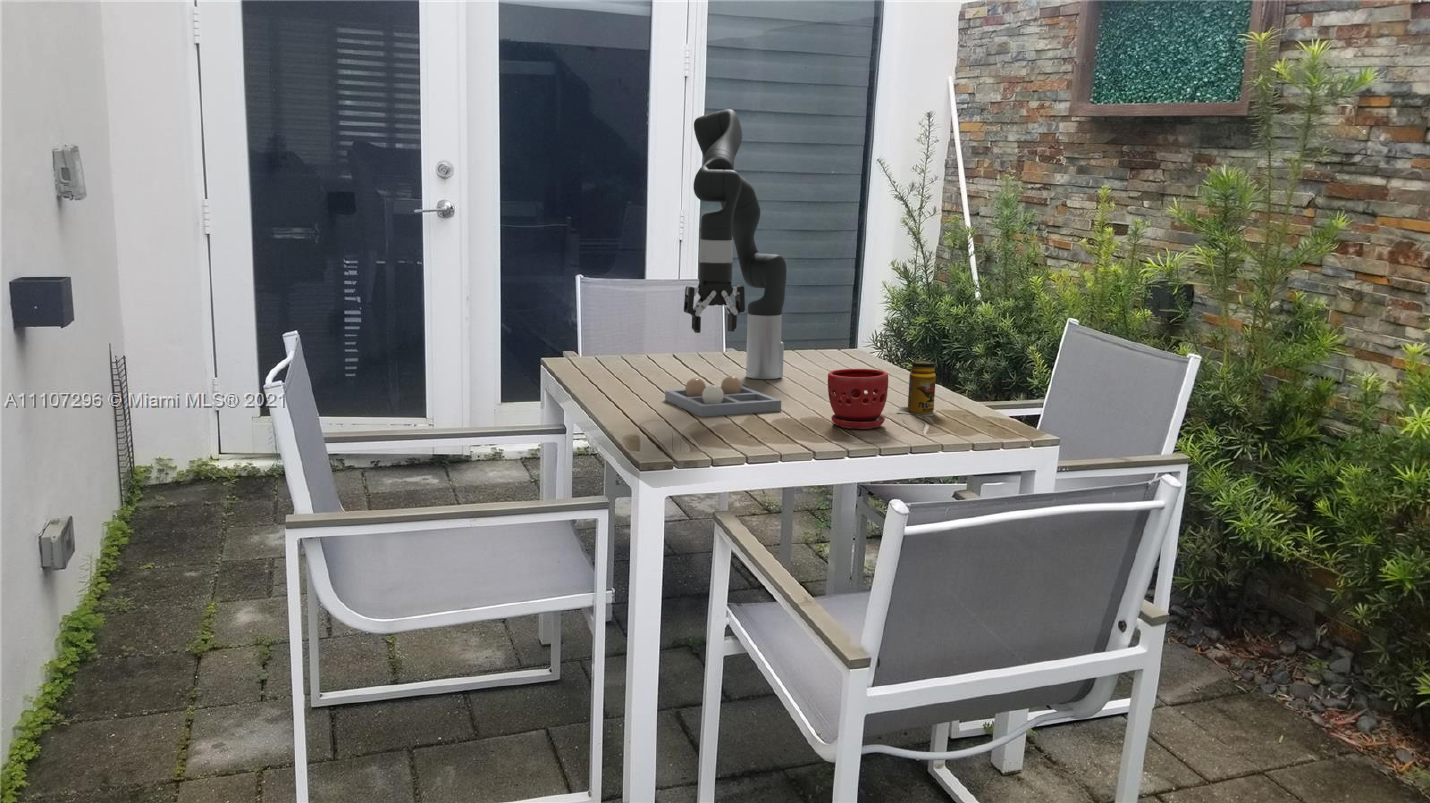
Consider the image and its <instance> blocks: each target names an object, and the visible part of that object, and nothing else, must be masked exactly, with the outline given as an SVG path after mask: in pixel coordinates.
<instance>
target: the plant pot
mask: <svg viewBox="0 0 1430 803" xmlns="http://www.w3.org/2000/svg"><path fill="white" fill-rule="evenodd" d="M888 389H889V373H888V372H887V371H884V370H880V369H873V368H872V369H871V368H844V369H837V370H836V369H835V370H831V371H829V372H828V374H827V392H828V399H829V403H830V407H831V409H832V412H833V413H834V414H832V415H831V418H830V419H831V421H832V423H833V424H835V425H836V426H838V427H840V428H844V429H847V430H871V429H877V428H878V427H881V426H882V425H883V424H884V422H885V421H886V418H885V416H884V415H882V412H883V411H884V408H885V405H886V403H887V398H888V391H889V390H888ZM852 390H854V393H853V394H851V392H852ZM843 391H844V392H843ZM865 391H867V393H866V392H865ZM842 392H843V393H842Z"/></svg>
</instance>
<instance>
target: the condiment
mask: <svg viewBox="0 0 1430 803" xmlns="http://www.w3.org/2000/svg"><path fill="white" fill-rule="evenodd" d="M910 368H911V369H910V370H911V371H910V373H909V379H908V380H909V381H908V395H907V396H908V397H907V406H900V408H899V409H898V410H897V412H896V413H897V414H909V415H915V416H925V417H926V416H927V417H933V416H934V415H935V414H936V412H937V409H935V397H936V394H935V393H936V381H937V380H936V379H937V378H936V376H937V375H936V373H935V371H936V370H935V368H936V364H935V362H933V361H930V360H922V359H920V360H913V361H912V363H911V367H910Z"/></svg>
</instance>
